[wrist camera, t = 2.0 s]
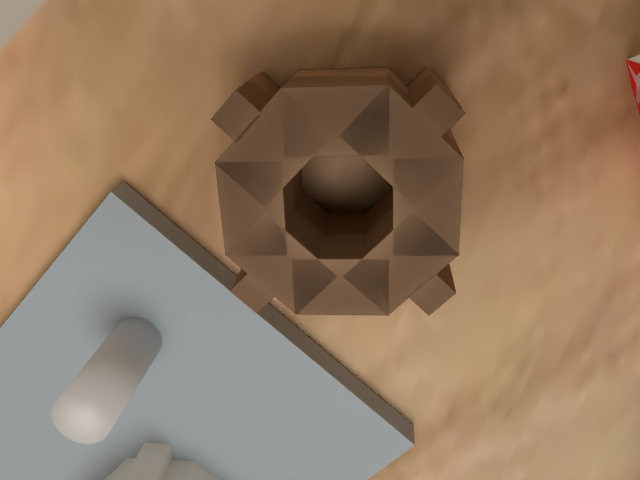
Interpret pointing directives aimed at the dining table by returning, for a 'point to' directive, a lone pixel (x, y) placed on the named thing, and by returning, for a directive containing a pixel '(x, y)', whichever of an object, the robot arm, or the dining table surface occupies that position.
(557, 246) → the dining table surface
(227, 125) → the walnut gear
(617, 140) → the dining table surface
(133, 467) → the gear
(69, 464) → the gear board
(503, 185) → the dining table surface
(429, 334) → the dining table surface
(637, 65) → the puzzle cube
